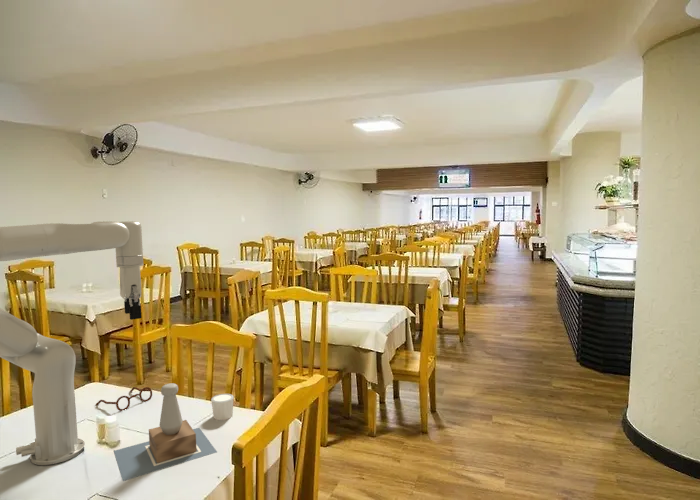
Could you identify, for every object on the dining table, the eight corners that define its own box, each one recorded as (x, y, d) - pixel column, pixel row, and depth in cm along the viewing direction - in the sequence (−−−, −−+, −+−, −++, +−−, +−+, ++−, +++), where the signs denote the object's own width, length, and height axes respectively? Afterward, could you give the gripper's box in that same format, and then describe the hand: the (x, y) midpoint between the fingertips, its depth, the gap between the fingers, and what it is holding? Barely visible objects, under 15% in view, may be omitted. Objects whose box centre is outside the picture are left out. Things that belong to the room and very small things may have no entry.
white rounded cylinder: (238, 418, 146) (238, 397, 145) (219, 426, 141) (218, 404, 140) (226, 412, 151) (226, 391, 150) (207, 419, 146) (206, 398, 145)
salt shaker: (167, 438, 121) (165, 391, 120) (155, 432, 125) (153, 386, 124) (187, 430, 126) (185, 384, 125) (175, 424, 129) (173, 379, 128)
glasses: (118, 414, 151) (117, 399, 151) (95, 405, 158) (94, 391, 158) (153, 399, 163) (152, 385, 162) (130, 392, 169) (130, 379, 169)
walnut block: (157, 463, 119) (156, 444, 118) (149, 446, 127) (148, 429, 127) (196, 451, 124) (195, 433, 124) (186, 436, 133) (186, 419, 132)
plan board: (123, 484, 111) (122, 480, 111) (113, 454, 125) (113, 450, 125) (217, 455, 124) (217, 451, 124) (199, 430, 138) (199, 427, 138)
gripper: (112, 259, 147) (115, 312, 149) (120, 265, 133) (123, 323, 135) (138, 258, 152) (141, 309, 153) (148, 263, 137) (151, 319, 139)
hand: (133, 315), depth 144 cm, fingers open, 9 cm apart
